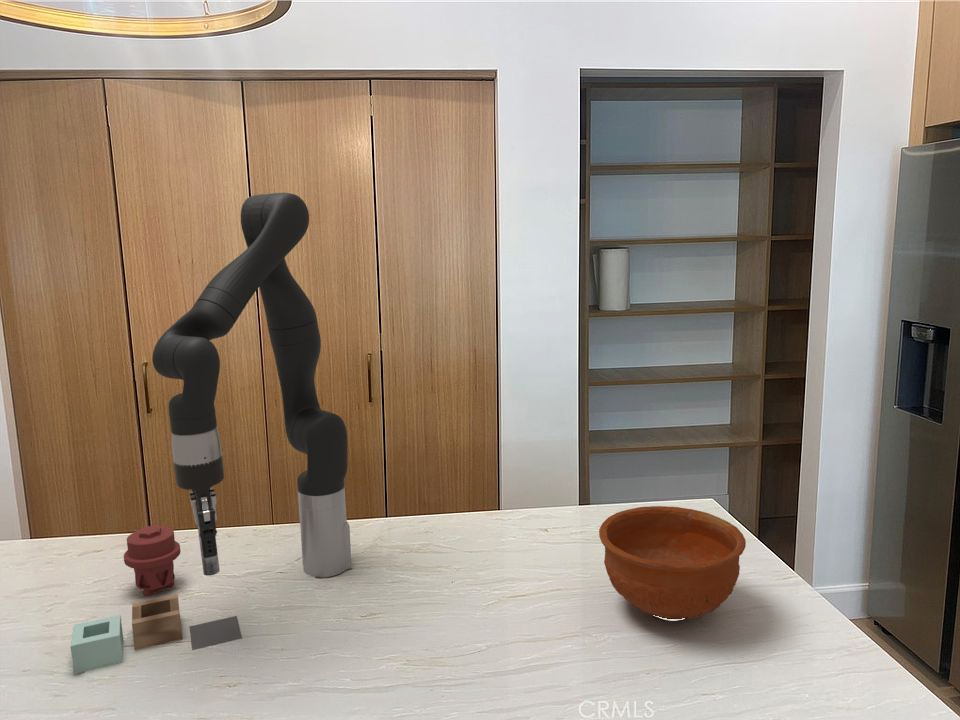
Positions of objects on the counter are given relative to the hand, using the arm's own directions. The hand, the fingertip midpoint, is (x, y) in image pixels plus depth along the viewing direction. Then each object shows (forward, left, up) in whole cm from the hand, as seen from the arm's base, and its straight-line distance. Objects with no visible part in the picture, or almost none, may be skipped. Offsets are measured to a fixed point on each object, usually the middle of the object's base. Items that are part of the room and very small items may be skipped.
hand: (209, 551), depth 126 cm
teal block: (+18, -1, -15) cm, 24 cm away
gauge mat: (0, 0, -15) cm, 15 cm away
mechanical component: (+9, -22, -15) cm, 28 cm away
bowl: (-75, +28, -15) cm, 81 cm away
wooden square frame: (+9, -4, -15) cm, 18 cm away
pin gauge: (0, 0, -4) cm, 4 cm away
